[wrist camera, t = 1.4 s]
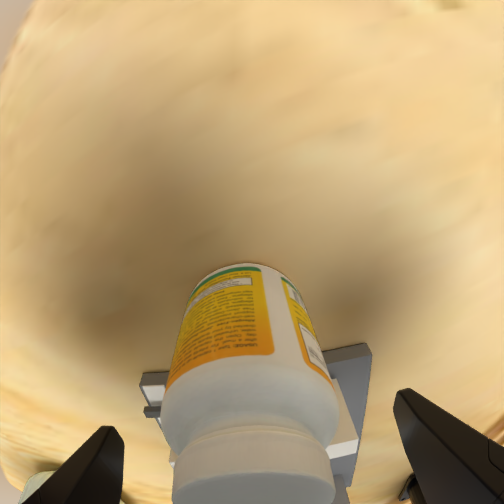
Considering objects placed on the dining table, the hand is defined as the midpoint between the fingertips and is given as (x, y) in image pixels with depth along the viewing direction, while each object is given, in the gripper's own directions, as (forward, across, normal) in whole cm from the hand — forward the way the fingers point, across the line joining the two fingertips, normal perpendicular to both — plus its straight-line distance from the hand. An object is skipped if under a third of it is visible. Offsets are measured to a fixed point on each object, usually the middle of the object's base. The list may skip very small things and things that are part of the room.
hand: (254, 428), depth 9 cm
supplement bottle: (+7, 0, 0) cm, 7 cm away
